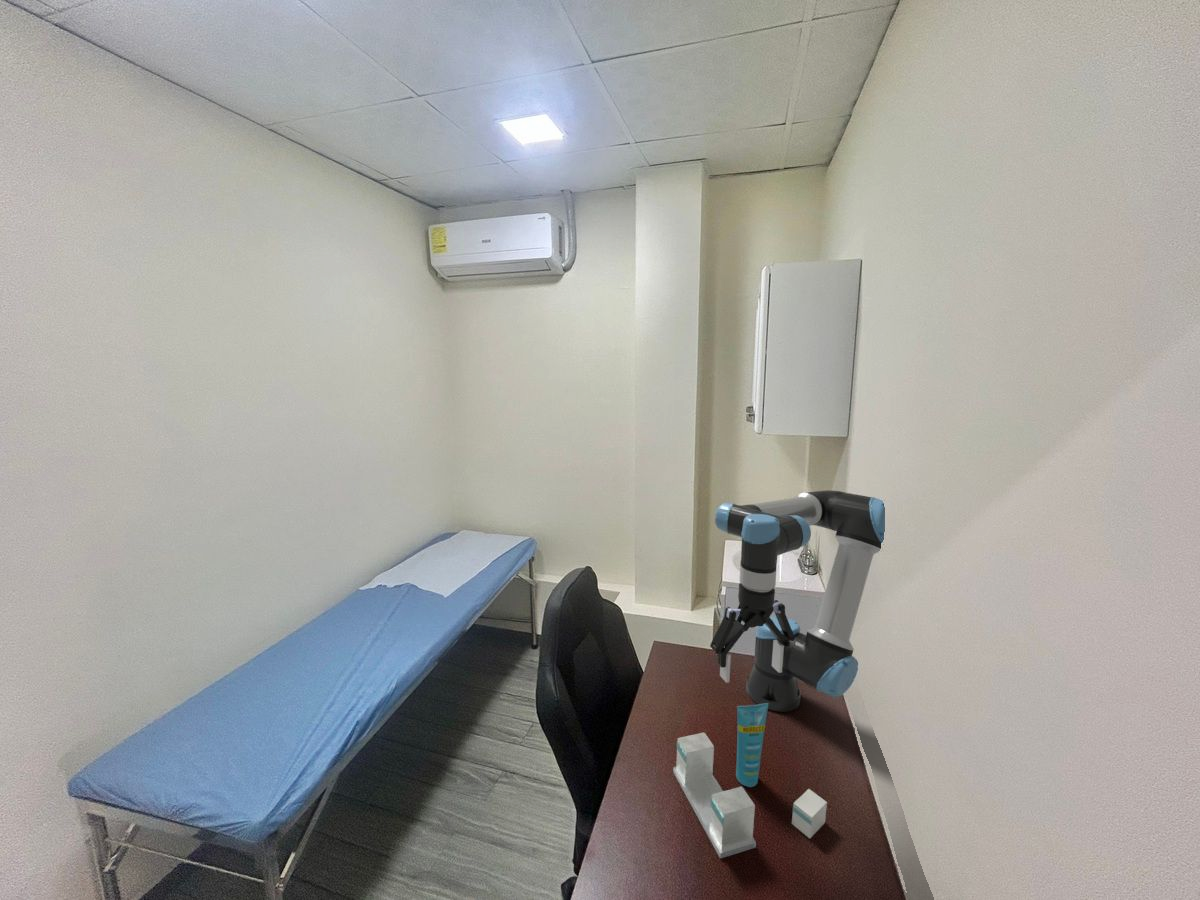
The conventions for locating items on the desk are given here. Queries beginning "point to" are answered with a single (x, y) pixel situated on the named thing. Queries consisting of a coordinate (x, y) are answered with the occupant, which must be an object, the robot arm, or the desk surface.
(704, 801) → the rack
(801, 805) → the block
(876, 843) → the desk surface
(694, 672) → the desk surface
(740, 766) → the tube
